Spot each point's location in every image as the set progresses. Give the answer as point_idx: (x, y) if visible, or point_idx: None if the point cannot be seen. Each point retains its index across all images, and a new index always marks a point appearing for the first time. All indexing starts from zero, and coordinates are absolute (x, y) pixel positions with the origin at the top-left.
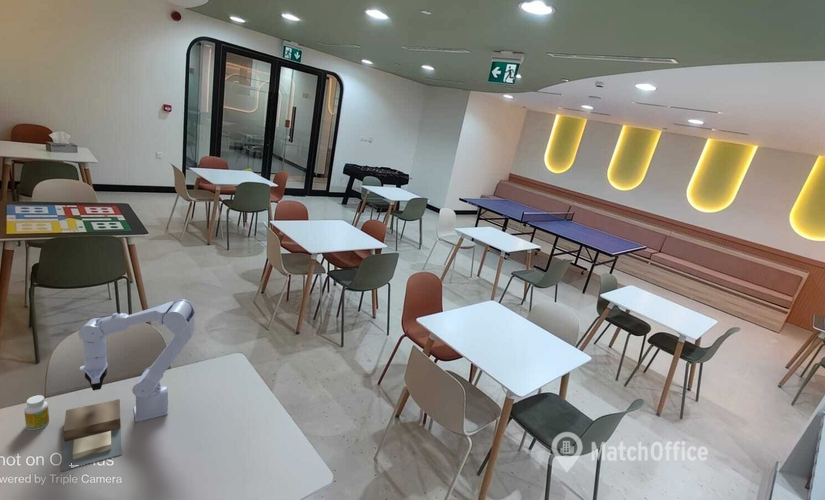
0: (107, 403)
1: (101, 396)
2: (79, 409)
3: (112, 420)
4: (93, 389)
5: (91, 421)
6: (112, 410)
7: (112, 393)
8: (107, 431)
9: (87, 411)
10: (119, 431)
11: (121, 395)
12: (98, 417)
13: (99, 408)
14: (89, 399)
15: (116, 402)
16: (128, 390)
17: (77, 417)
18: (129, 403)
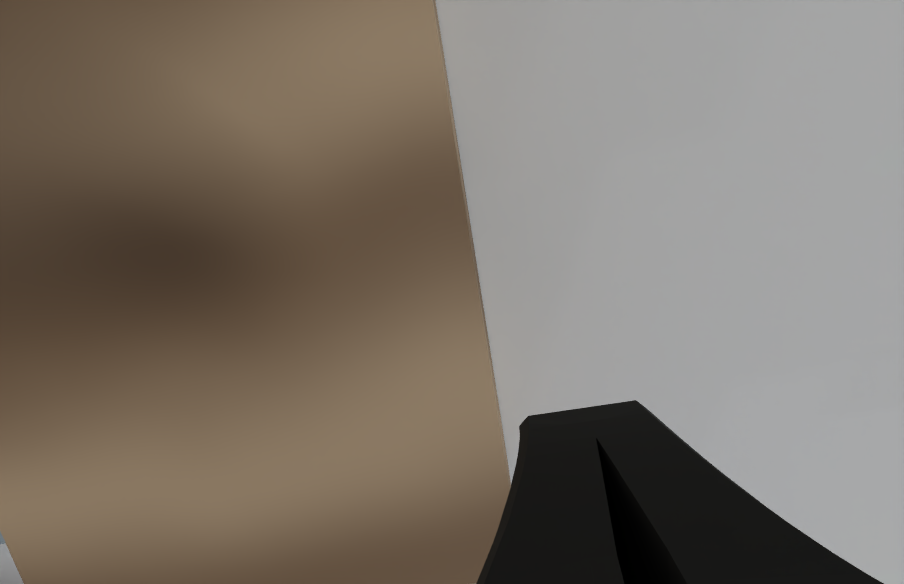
0: (454, 443)
1: (878, 211)
2: (374, 49)
3: (19, 559)
4: (520, 449)
5: (2, 307)
6: (254, 530)
7: (894, 335)
8: None
9: (282, 198)
10: None
11: (799, 442)
12: (97, 385)
13: (338, 359)
14: (866, 61)
15: (448, 551)
16: (882, 500)
17: (125, 69)
18: None
